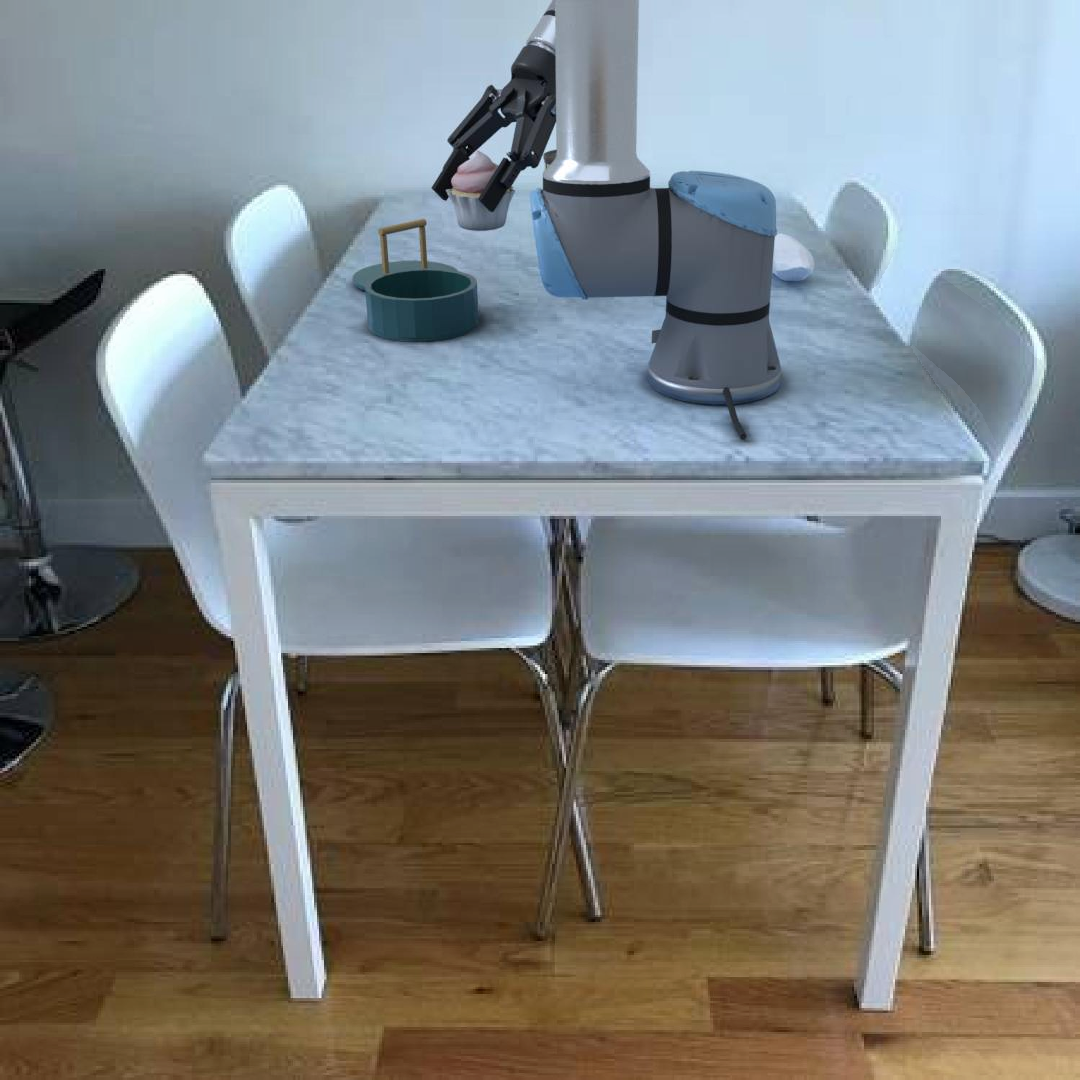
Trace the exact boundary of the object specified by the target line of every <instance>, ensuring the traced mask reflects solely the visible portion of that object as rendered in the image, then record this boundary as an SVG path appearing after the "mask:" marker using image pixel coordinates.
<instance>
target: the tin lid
mask: <svg viewBox="0 0 1080 1080" xmlns="http://www.w3.org/2000/svg"><path fill="white" fill-rule="evenodd" d="M426 226H427V219H425V218H420V219H415V220H411V221H407V222H402V223H398V224H393V225H392V224H391V225H388V226H383V227H379V228H378V230H377V232H378V233H377V234H378V236H379V239H380V252H381V263H377V264H373V265H370V266H366V267H363V268H361V269H359V270H358V271H356V272H355V273H354V274H353V275H352V284H353V285H354V286H355V287H356V288H358V289H360V290H363V291H365V284H366V283H367V282H368V281H370V280H371V279H372V278H375V277H377V276H379V275H383V274H387V273H391V272H395V271H402V270H409V269H427V268H428V269H446V270H453V271H459V270H458V269H457V268H455V267H454V266H452V265H450V264H446V263H442V262H436V261H430V260H428V252H427V250H428V249H427V235H426ZM413 229H418V230H419V231H418V235H419V236H418V237H419V250H420V251H419V252H420V260H398V261H389V250H388V237H387V236H388V235H390V234H396V233H399V232H405V231H409V230H413Z"/></svg>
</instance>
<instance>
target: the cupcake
mask: <svg viewBox="0 0 1080 1080" xmlns="http://www.w3.org/2000/svg"><path fill="white" fill-rule="evenodd" d="M498 166H499V164H497V163H495V162H493V161H492V159H491V157H489V156H488V155H487V154H485V153H484V152H482V151H480V150H479V149H477V150H476V151H475V152H474V155H473V156H472V157H471V158H470V160H468V161H466V162H465V163H463V164H462V165H460V166H459V167H458V171H457V173H456V174H455V175H454V176H453V178H452V181H451V183H452V186H453V189H448V190H446V192H447V193H448V196H449V198H448V199H450V201H451V204H452V206H453V210H454V214H455V217H456V221H457V224H458V227H460V228H461V229H463V230H467V231H474V232H487V231H495V230H497V229H501V228H503V227H504V226H505V225H506V222H507V217H508V212H509V208H510V204H511V201H512V200H513V197H514V195H515V193H516V189H514V186H513V185H512V186H511V187H510V188H509V189H507V191H506V193H505V194H504V196H503V197H502V199H501V201H500V202H499V204H498V206H497V207H496V209H495V210H494V212H490V211H489V210H488V209H487V208H486V207H485V206H484V205H483V204H482V203H481V202H480V201H479V200H478V198H479V196H480V195H481V193H482V192H483V190H484V188H485V187H486V185H487V183H488V182H489V180H490V179H491V177H492V175H493V174H494V172H495V171H496V169H497V167H498Z"/></svg>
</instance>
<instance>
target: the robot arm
mask: <svg viewBox="0 0 1080 1080" xmlns="http://www.w3.org/2000/svg"><path fill="white" fill-rule="evenodd" d="M639 22H640V0H551V2H550V3H549V5H548V7H547V9H545V12H544V13H543V15H542V17H540V19H539V21H538V22H537V24H536V26H535V27H534V29H533V30H532V32H531V33H530V35H529V36H528V38H527V40H526V42H525V45H524V46H522V48H521V50H520V51H519V53H518V55H517V56H516V58H515V59H514V61H513V62H512V64H511V67H510V73H511V78H510V81H509V82H508V83H507V84H505V86H504V87H502V89H501V88H500V89H498V88H495V86H494V85H493V84H489V85H488V86H487V87H486V88H485V91H484V92H483V94H482V96H481V98H480V99H479V101H477V103H476V104H475V105H474V107H472V109H471V110H470V111H469V112H468V114H467V115H466V116H465V117H464V119H462V121H461V122H460V123H459V125H457V127H456V128H455V129H454V131H452V133H451V134H450V135H449V136H448V138H447V143H448V144H449V145H450V146H451V147H452V152H450V155H449V156H448V158H447V159H446V161H445V163H444V164H443V165H442V169H441V171H440V173H439V175H438V176H437V178H436V180H435V181H434V182H433V184H432V186H431V190H432V191H433V192H434V193H435V194H436V195H437V196H438V197H440V199H442V201H445V202H447V201H448V199H450V198H449V196H448V193H447V192H446V190H448V189H453V186H452V183H451V181H452V178H453V176H454V175H455V174H456V173H457V171H458V167H459V166H460V165H462V164H463V163H465V162H466V161H468V160H470V159H471V158H470V157H471V156H472V155H473V154H475V152H476V150H479V149H480V148H481V147H482V146H483V145H484V144H486V143H487V141H489V140H490V139H491V138H492V137H493V136H494V135H495V134H496V133H498V132H499V131H500V130H501V129H502V128H507V127H509V126H510V125H511V124H512V123H515V128H514V131H513V137H512V143H511V148H510V151H508V152H506V156H507V157H503V158H502V159H501V161H500V163H499V164H498V165H499V166H498V167H497V169H496V171H495V172H494V174H493V175H492V177H491V179H490V180H489V182H488V183H487V185H486V187H485V188H484V190H483V192H482V193H481V195H480V196H479V198H478V200H479V201H480V202H481V203H482V204H483V205H484V206H485V207H486V208H487V209H488V210H489V211H490V212H494V210H495V209H496V207H497V206H498V204H499V202H500V201H501V199H502V197H503V196H504V194H505V193H506V191H507V189H509V188H510V187H511V186H512V187H513V184H514V183H515V182H516V180H517V178H518V177H519V175H520V174H521V172H522V171H525V170H526V169H527V168H529V167H530V168H531V169H536V168H537V167H539V165H540V163H541V160H542V158H543V154H544V153H545V150H546V149H547V145H548V143H549V141H550V138H551V136H552V133H553V131H554V128H555V129H556V130H555V131H556V133H555V134H556V135H555V137H556V138H555V139H556V141H555V143H556V146H555V147H556V150H557V155H556V157H555V159H554V161H553V162H552V163H551V164H550V165H549V166H548V167H547V168H546V169H545V170H543V172H542V188H540V187H539V188H536V189H535V190H532V191H530V193H529V203H530V211H531V217H532V227H533V234H534V240H535V249H536V256H537V260H538V268H539V273H540V274H539V275H540V278H541V283H542V286H543V288H544V289H545V291H546V292H547V293H548V294H549V295H551V296H552V297H556V298H581V299H582V300H588V299H590V298H593V299H594V298H635V297H636V298H639V297H640V298H641V297H666V300H665V316H664V319H663V323H662V325H661V328H660V329H654V330H653V329H652V330H651V344H654V347H653V350H652V352H651V355H650V358H649V361H648V364H647V381H648V384H649V386H650V387H651V388H652V389H654V390H655V391H656V392H658V393H660V394H662V395H664V396H666V397H669V398H671V399H675V400H678V401H683V402H688V403H694V404H701V405H726V406H727V410H728V414H729V417H730V421H731V423H732V425H733V428H734V429H735V431H736V434H737V435H738V437H739V438H740V440H743V441H745V440H747V437H748V435H747V433H746V432H745V430H744V428H743V425H742V424H741V422H740V420H739V418H738V415H737V411H736V407H735V405H737V404H743V403H744V404H745V403H751V402H755V401H759V400H761V399H764V398H766V397H768V396H771V395H772V394H774V393H775V392H776V391H778V390H779V388H780V385H781V376H782V366H781V362H780V358H779V354H778V349H777V346H776V343H775V338H774V334H773V331H772V327H771V323H770V307H771V292H772V279H773V272H772V268H773V255H774V242H775V236H776V235H777V234H778V229H777V200H776V197H775V195H774V193H773V192H772V191H771V190H770V189H769V188H768V187H767V186H766V185H764V184H762V183H760V182H758V181H755V180H752V179H750V178H746V177H742V176H738V175H734V174H729V173H722V172H715V171H705V170H688V171H684V170H683V171H678V172H675V173H673V174H672V175H671V176H670V179H669V181H668V183H667V184H668V185H667V186H668V187H656V188H655V187H651V171H650V170H649V168H648V167H647V166H646V165H645V164H644V163H643V162H642V160H640V158H639V157H638V153H637V145H638V144H637V142H638V141H637V139H638V137H637V135H638V133H637V132H638V87H639V85H638V80H639V79H638V77H639V76H638V75H639V28H640V27H639V26H640V24H639ZM499 110H500V112H499ZM509 159H510V160H509Z"/></svg>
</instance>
